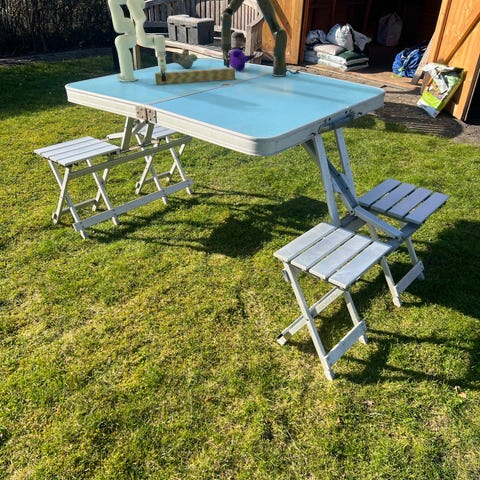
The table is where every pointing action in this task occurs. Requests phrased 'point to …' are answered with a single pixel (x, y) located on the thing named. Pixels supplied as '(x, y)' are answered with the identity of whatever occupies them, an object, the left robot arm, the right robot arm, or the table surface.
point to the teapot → (184, 59)
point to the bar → (196, 76)
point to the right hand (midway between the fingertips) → (226, 66)
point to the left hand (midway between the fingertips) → (163, 80)
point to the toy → (239, 59)
